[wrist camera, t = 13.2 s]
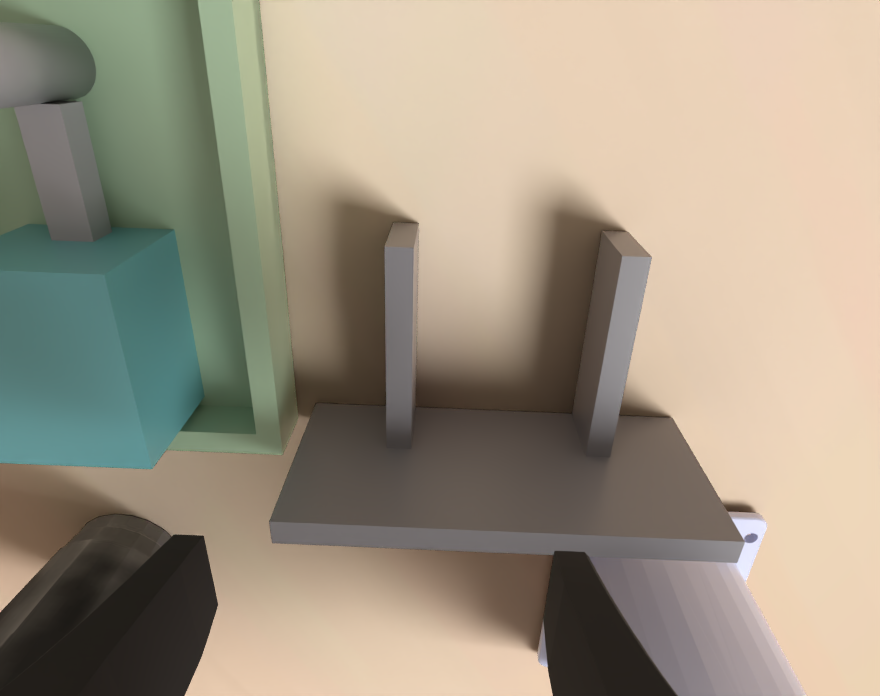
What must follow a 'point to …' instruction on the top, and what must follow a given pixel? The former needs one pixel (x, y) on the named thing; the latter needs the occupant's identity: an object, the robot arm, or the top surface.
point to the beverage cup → (73, 587)
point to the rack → (507, 452)
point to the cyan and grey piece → (83, 288)
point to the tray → (187, 189)
